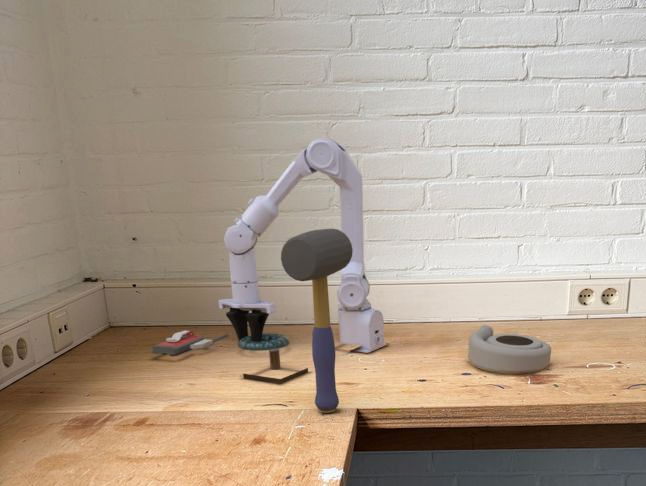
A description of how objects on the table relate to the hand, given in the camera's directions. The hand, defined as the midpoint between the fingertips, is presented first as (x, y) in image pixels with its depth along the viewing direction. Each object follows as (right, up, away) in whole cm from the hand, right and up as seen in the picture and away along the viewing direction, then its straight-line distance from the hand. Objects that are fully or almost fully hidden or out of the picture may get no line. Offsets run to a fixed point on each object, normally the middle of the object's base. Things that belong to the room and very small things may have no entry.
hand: (250, 342), depth 178 cm
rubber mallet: (+21, -16, -42) cm, 50 cm away
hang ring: (+3, 0, -2) cm, 4 cm away
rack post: (+9, -9, -21) cm, 24 cm away
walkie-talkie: (-13, -2, 0) cm, 13 cm away
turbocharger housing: (+55, -6, -17) cm, 58 cm away
